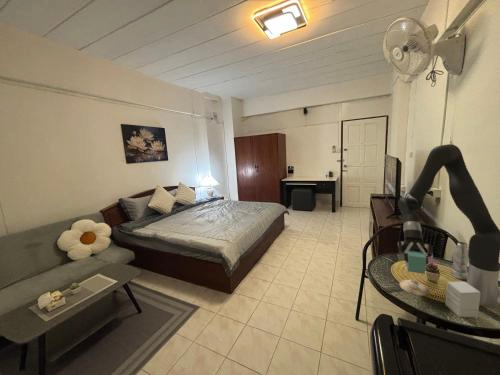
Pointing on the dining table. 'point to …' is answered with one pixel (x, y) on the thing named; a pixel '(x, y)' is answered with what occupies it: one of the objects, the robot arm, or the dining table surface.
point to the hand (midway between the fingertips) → (416, 263)
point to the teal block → (416, 261)
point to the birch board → (420, 291)
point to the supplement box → (462, 299)
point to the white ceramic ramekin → (414, 284)
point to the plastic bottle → (460, 261)
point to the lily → (432, 260)
